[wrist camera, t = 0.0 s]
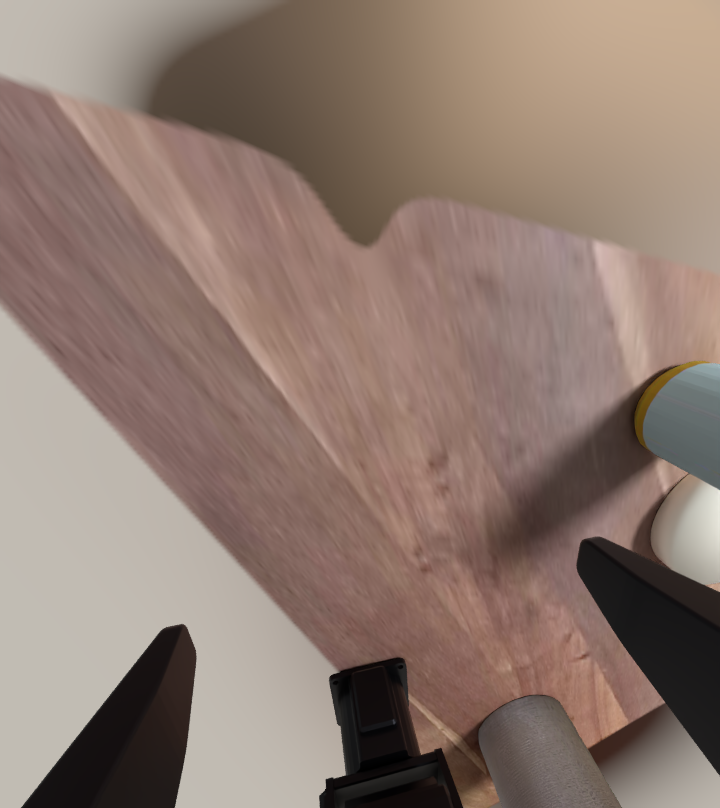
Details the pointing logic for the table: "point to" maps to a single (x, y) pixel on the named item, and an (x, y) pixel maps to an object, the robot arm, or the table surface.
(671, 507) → the round base
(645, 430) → the bottle
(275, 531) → the table surface
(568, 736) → the pillar candle
